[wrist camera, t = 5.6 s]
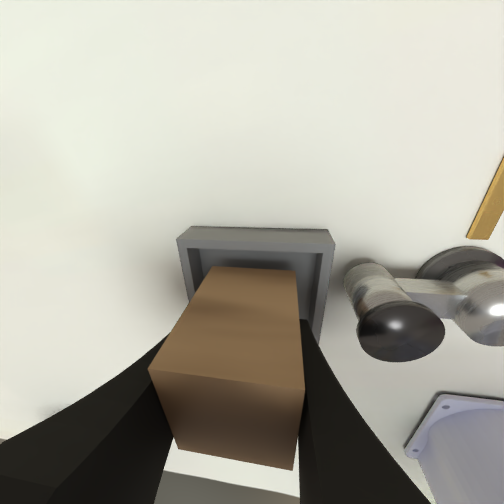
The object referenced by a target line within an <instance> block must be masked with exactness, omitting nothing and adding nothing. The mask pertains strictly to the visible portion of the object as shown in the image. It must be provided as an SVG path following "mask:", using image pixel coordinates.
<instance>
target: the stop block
mask: <svg viewBox="0 0 504 504" xmlns="http://www.w3.org/2000/svg"><path fill="white" fill-rule="evenodd" d="M148 371H149V374H150V376H151V379H152V381H153V384H154V387H155V389H156V392H157V394H158V397H159V400H160V402H161V405H162V408H163V410H164V413H165V415H166V418H167V421H168V423H169V426H170V428H171V431H172V434H173V436H174V439H175V442H176V444H177V447H178V449H181V450H186V451H191V452H196V453H202V454H207V455H212V456H217V457H223V458H228V459H233V460H238V461H244V462H249V463H254V464H259V465H265V466H270V467H275V468H281V469H286V470H291V471H293V464H294V458H295V452H296V445H297V439H298V432H299V426H300V420H301V413H302V407H303V401H304V394H305V382H304V370H303V358H302V346H301V334H300V322H299V310H298V298H297V285H296V273H295V271H291V270H273V269H256V268H238V267H221V266H212V267H211V269H210V271H209V272H208V274H207V275H206V277H205V279H204V280H203V282H202V283H201V285H200V286H199V288H198V290H197V291H196V293H195V294H194V296H193V298H192V299H191V301H190V302H189V304H188V305H187V307H186V309H185V310H184V312H183V313H182V315H181V317H180V318H179V320H178V321H177V323H176V324H175V326H174V328H173V329H172V331H171V332H170V334H169V336H168V337H167V339H166V340H165V342H164V344H163V345H162V347H161V348H160V350H159V351H158V353H157V355H156V356H155V358H154V359H153V361H152V363H151V364H150V366H149V367H148Z"/></svg>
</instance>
